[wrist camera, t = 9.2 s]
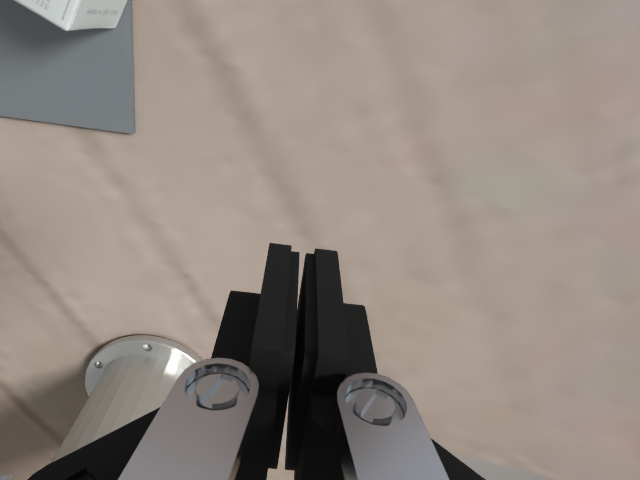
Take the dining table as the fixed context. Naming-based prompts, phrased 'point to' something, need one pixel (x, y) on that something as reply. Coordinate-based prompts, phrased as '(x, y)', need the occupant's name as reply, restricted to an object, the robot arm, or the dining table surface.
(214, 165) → the dining table surface
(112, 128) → the charcoal mat
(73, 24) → the supplement box
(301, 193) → the dining table surface
